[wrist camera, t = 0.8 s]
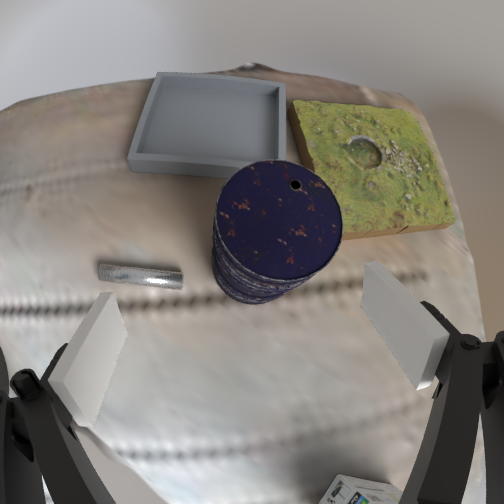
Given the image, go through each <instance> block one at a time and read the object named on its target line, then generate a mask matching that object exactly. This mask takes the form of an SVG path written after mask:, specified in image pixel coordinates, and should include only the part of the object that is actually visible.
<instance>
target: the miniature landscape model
mask: <svg viewBox="0 0 504 504" xmlns="http://www.w3.org/2000/svg"><path fill="white" fill-rule="evenodd" d="M287 113H288V116H289V119H290V123H291V126H292V130H293V133H294V136H295V140H296V143H297V146H298V150H299V154H300V157H301V161H302V164H303V166H304V167H306V168H308V169H310V170H311V171H313V172H314V173H316V174H317V175H318V176H320V177H321V178H322V179H323V180H324V181H325V182H326V183H327V185H328V186H329V187H330V188H331V190H332V191H333V193H334V194H335V196H336V198H337V200H338V202H339V205H340V207H341V211H342V215H343V236H342V240H350V239H358V238H368V237H376V236H385V235H393V234H402V233H410V232H419V231H427V230H436V229H444V228H447V227H449V226H450V225H452V224H453V223H455V218H454V217H453V215H454V213H453V211H452V208H451V204H450V200H449V198H448V195H447V193H446V190H445V187H444V184H443V181H442V179H441V176H440V174H439V172H438V169H437V167H436V160H435V158H434V155H433V153H432V151H431V150H430V148H429V146H428V142H427V140H426V138H425V136H424V133H423V131H422V129H421V127H420V125H419V122H418V121H417V120H416V118H415V117H414V115H413V114H412V113H411V112H409V111H406V110H403V109H386V108H381V107H373V106H368V105H354V104H350V105H346V104H339V103H330V104H329V103H322V102H319V101H308V102H307V101H303V100H294V101H293V103H292V104H291V106H290V108H289V110H288V112H287ZM342 240H341V241H342Z"/></svg>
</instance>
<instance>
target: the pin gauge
mask: <svg viewBox="0 0 504 504" xmlns="http://www.w3.org/2000/svg"><path fill="white" fill-rule="evenodd" d="M98 278H99V280H100V281H107V282H115V283H123V284H131V285H139V286H148V287H157V288H166V289H175V290H182V288H183V279H184V273H183V272H173V271H163V270H154V269H145V268H135V267H126V266H118V265H109V264H100V266H99V269H98Z"/></svg>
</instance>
